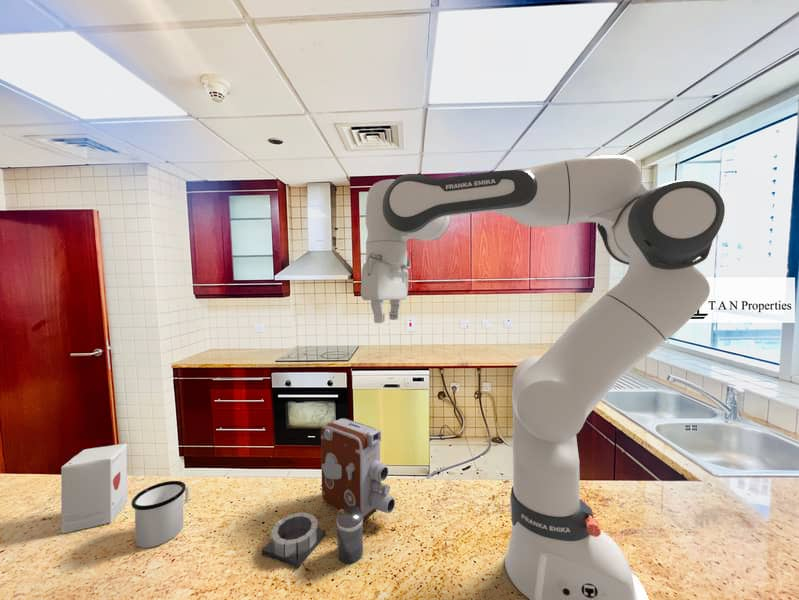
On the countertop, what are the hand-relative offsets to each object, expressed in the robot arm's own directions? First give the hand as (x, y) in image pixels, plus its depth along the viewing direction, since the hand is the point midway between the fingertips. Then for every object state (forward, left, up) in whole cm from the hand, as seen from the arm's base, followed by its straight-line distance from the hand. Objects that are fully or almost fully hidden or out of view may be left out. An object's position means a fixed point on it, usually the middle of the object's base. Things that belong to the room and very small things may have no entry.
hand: (387, 321), depth 69 cm
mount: (+17, +10, -46) cm, 50 cm away
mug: (+47, +17, -46) cm, 68 cm away
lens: (+5, +8, -46) cm, 47 cm away
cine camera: (+10, -4, -46) cm, 47 cm away
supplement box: (+67, +20, -46) cm, 84 cm away
